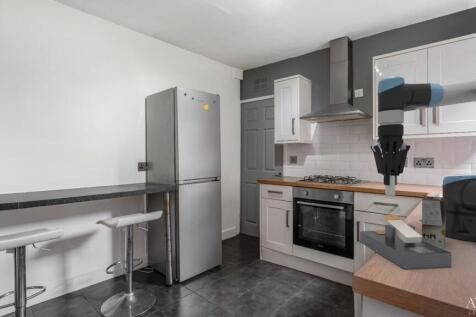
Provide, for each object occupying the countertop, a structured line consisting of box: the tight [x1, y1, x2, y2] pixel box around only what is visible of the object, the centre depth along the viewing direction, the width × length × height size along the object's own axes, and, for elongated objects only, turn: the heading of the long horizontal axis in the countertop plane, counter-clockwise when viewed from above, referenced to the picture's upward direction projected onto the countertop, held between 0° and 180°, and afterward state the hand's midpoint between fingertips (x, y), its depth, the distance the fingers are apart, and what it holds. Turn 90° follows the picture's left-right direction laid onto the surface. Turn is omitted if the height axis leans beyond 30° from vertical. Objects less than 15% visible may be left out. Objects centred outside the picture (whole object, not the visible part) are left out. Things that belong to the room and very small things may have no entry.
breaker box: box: [359, 223, 452, 270], centre depth 83 cm, size 14×22×9 cm, turn 5°
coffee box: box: [421, 195, 446, 249], centre depth 92 cm, size 9×6×16 cm
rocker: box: [380, 214, 422, 243], centre depth 83 cm, size 5×12×2 cm, turn 5°
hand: (390, 194), depth 87 cm, fingers closed
